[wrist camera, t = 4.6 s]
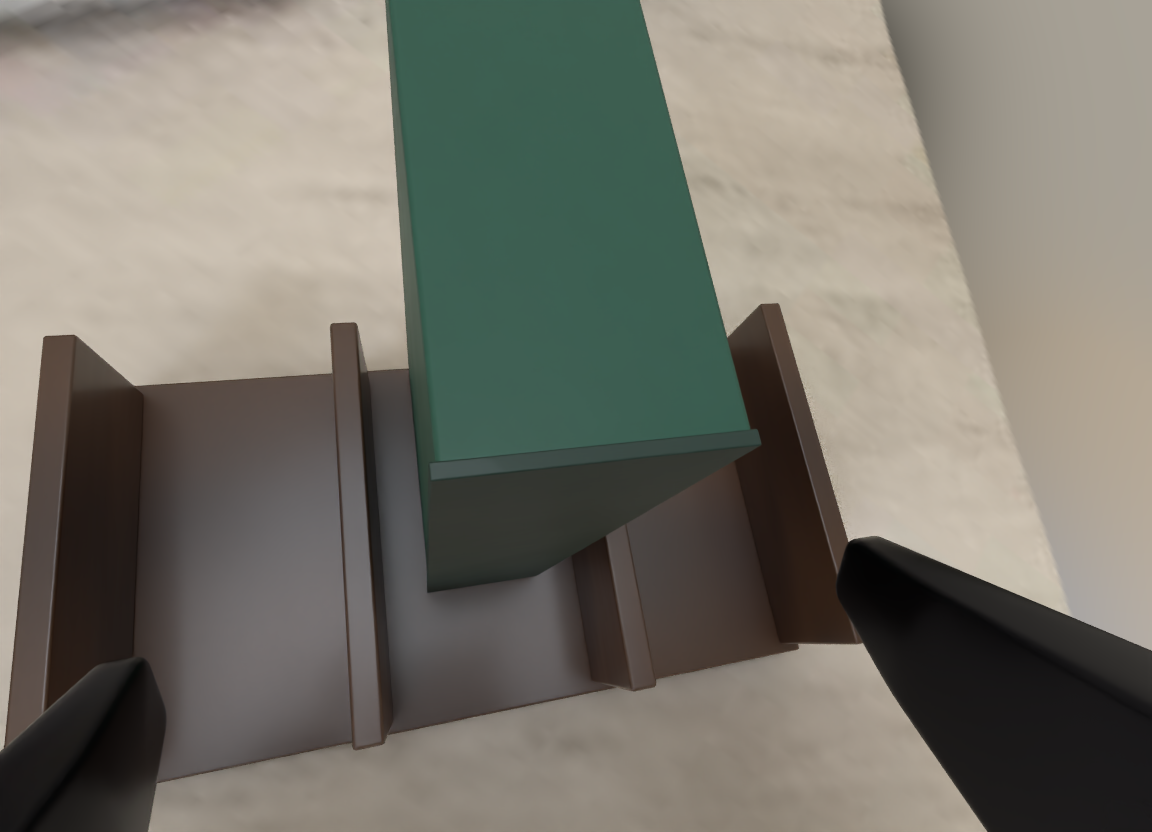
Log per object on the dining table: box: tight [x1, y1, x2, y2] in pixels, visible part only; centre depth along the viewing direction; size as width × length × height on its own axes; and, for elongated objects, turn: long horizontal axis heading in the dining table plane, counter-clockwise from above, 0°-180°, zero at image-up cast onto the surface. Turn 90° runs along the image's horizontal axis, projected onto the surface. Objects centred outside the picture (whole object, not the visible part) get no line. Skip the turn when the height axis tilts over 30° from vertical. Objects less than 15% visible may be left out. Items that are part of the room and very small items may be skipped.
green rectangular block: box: [385, 0, 761, 593], centre depth 12 cm, size 6×3×12 cm, turn 10°
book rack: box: [4, 303, 863, 783], centre depth 16 cm, size 10×17×4 cm, turn 100°
